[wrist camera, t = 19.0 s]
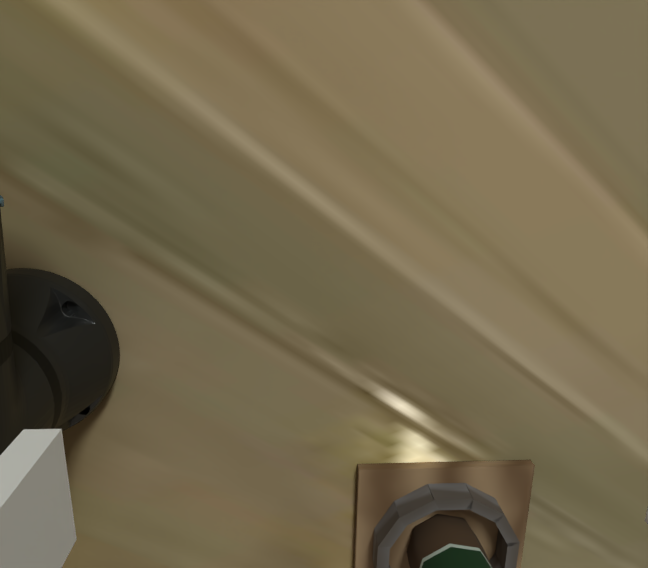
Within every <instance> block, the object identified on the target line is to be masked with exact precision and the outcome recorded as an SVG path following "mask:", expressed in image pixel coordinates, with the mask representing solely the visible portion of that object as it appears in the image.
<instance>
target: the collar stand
mask: <svg viewBox="0 0 648 568" xmlns="http://www.w3.org/2000/svg"><path fill="white" fill-rule="evenodd" d="M534 467H535V465H534V464H533V463H532V461H531V460H507V461H466V462H425V463H385V464H358V470H357V497H356V525H355V552H354V568H410V566H409V561H408V556H407V548H408V545H409V542H410V539H411V536H412V533H413V530H414V527H415V526H417V525H418V524H420V523H422V522H424V521H425V520H427V519H429V518H431V517H433V516H434V515H436V514H442V515H448V516H455V517H461V518H464V519H465V520H466V521H467V523H468V524H469V526H470V527H471V529H472V530H473V532H474V533H475V535H476V536H477V538H478V540H479V542H480V543H481V545H482V547H483V549H484V551H485V553H486V555H487V557H488V559H489V561H490V563H491V566H492V568H520V567H521V560H522V553H523V546H524V539H525V532H526V524H527V517H528V510H529V503H530V496H531V489H532V482H533V475H534Z"/></svg>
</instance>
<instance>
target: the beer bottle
mask: <svg viewBox="0 0 648 568" xmlns="http://www.w3.org/2000/svg"><path fill="white" fill-rule="evenodd" d="M407 556H408V561H409V566H410V568H492V566H491V563H490V561H489V559H488V557H487V555H486V553H485V551H484V549H483V547H482V545H481V543H480V542H479V540H478V538H477V536H476V535H475V533H474V532H473V530H472V529H471V527H470V526H469V524H468V523H467V521H466V520H465V519H464V518H461V517H455V516H448V515H442V514H436V515H434V516H433V517H431V518H429V519H427V520H425V521H424V522H422V523H420V524H418V525H417V526H415V527H414V530H413V533H412V536H411V539H410V542H409V545H408V548H407Z"/></svg>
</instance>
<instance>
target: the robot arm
mask: <svg viewBox="0 0 648 568" xmlns="http://www.w3.org/2000/svg"><path fill="white" fill-rule="evenodd" d="M3 206H4V200H3V197H2V196H1V195H0V207H3ZM119 356H120V353H119V343H118V338H117V334H116V331H115V328H114V326H113V324H112V322H111V320H110V318H109V316H108V314H107V313H106V311H105V310H104V309H103V307H102V306H101V305H100V304H99V302H98V301H97V300H96V299H95V298H94V297H93V296H92V295H91V294H90V293H88V292H87V291H86V290H85V289H83V288H82V287H81V286H79V285H77V284H76V283H74V282H72V281H71V280H69V279H67V278H65V277H62V276H60V275H57V274H54V273H51V272H47V271H43V270H38V269H28V268H18V269H8V270H6V263H5V253H4V242H3V232H2V221H1V211H0V568H62V566H63V564H64V562H65V560H66V558H67V556H68V554H69V553H70V551H71V549H72V547H73V545H74V543H75V541H76V532H75V525H74V517H73V510H72V502H71V495H70V487H69V480H68V473H67V465H66V458H65V450H64V443H63V435H62V431H63V430H65V429H67V428H69V427H71V426H73V425H75V424H77V423H78V422H80V421H81V420H83V419H84V418H86V417H87V416H88V415H89V414H90V413H91V412H92V411H93V410H94V409H95V408H96V407H97V406H98V405H99V404H100V402H101V401H102V400H103V398H104V397H105V395H106V394H107V393H108V391H109V390H110V388H111V386H112V384H113V382H114V380H115V377H116V375H117V371H118V366H119ZM645 522H646V523H647V524H648V508H647V512H646V517H645Z"/></svg>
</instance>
